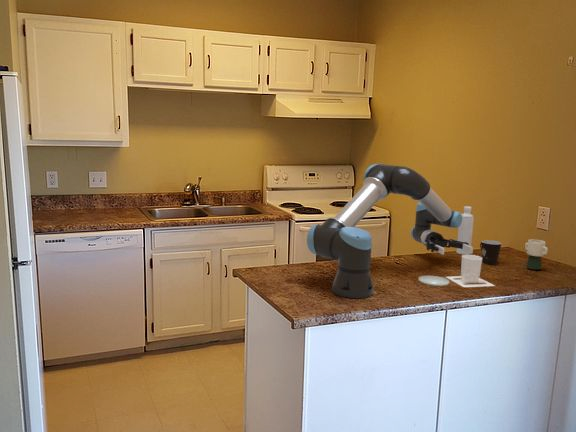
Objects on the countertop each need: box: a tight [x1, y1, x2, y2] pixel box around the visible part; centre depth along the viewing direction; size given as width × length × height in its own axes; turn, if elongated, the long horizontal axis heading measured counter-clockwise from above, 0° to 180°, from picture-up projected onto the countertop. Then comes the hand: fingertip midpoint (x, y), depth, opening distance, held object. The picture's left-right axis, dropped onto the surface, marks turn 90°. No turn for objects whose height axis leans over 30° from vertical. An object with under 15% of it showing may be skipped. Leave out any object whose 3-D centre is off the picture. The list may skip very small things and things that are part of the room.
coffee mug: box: [479, 239, 502, 266], centre depth 240 cm, size 12×9×10 cm
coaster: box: [418, 275, 450, 287], centre depth 207 cm, size 12×12×1 cm
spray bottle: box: [455, 206, 475, 255], centre depth 255 cm, size 7×7×25 cm
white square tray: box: [445, 275, 496, 288], centre depth 209 cm, size 14×14×1 cm
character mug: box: [524, 239, 549, 271], centre depth 230 cm, size 11×7×13 cm, turn 29°
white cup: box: [460, 254, 483, 283], centre depth 208 cm, size 8×8×10 cm
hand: (457, 251), depth 218 cm, fingers open, 13 cm apart
